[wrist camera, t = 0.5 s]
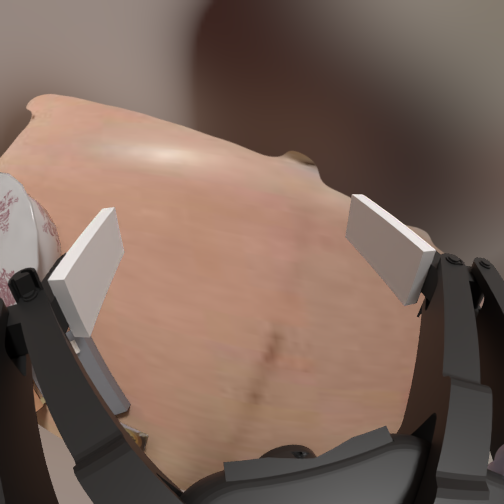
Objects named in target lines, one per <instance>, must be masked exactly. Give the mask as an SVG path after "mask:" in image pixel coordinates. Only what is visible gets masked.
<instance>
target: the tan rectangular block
mask: <svg viewBox="0 0 504 504" xmlns="http://www.w3.org/2000/svg"><path fill="white" fill-rule="evenodd" d="M33 391H34V401H35V409H36V412H37V411H38V410H39V409H40V408H41V407H42V406H44V405H43V404H44V403H45V402H46V401H45V399H44V397H41V398H40V399H39V397H38V395H37V394H36V392H35V390H34V388H33Z"/></svg>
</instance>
